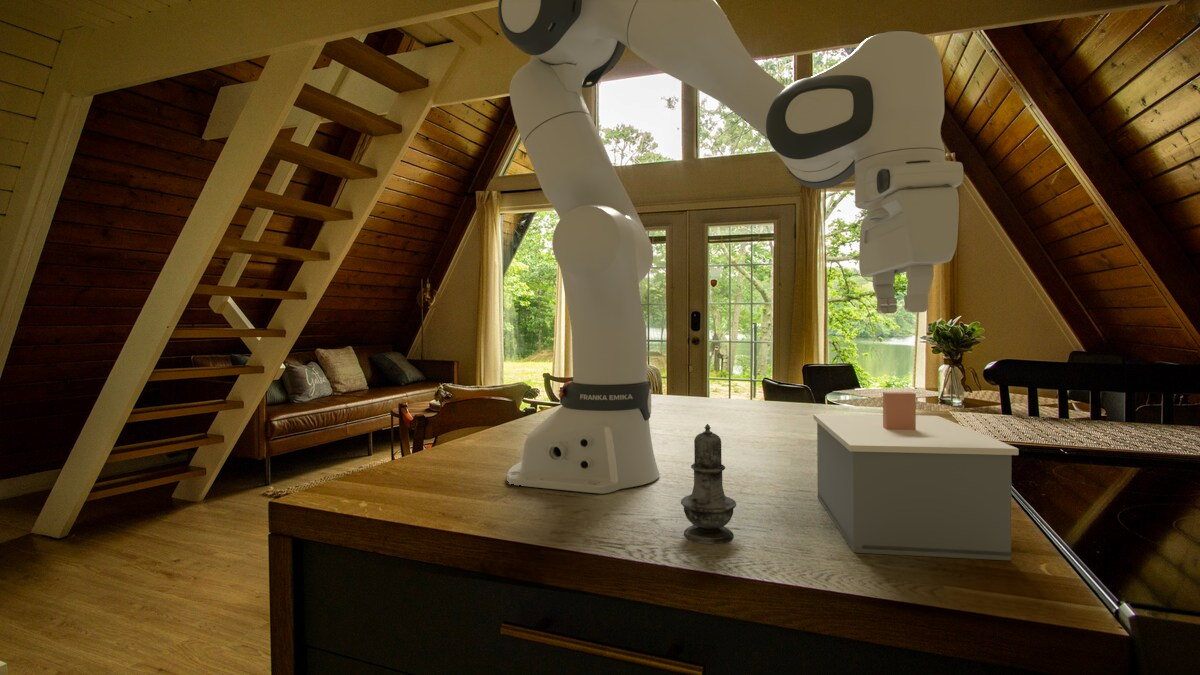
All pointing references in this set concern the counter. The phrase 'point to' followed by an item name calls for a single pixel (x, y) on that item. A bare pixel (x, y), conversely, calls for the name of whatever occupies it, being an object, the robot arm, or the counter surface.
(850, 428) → the lid
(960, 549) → the box
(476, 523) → the counter surface
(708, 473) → the salt shaker
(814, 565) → the counter surface
